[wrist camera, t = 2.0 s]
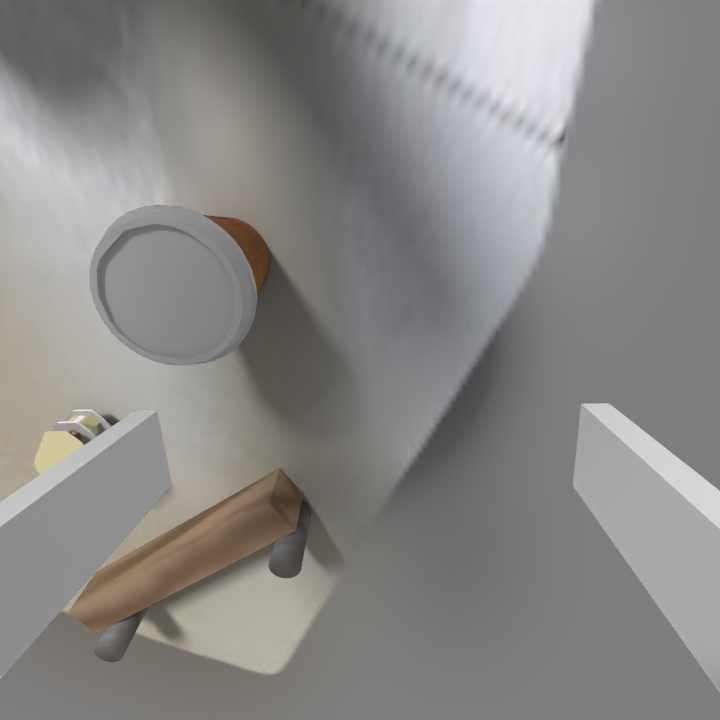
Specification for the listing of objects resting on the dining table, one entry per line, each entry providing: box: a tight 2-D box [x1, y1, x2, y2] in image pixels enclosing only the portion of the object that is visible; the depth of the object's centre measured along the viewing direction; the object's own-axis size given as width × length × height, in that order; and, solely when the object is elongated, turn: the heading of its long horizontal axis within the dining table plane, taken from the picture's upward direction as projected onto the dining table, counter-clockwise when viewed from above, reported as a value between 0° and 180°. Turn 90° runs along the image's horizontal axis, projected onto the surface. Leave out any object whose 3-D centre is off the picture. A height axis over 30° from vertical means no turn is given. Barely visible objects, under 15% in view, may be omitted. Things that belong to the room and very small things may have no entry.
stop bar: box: [68, 469, 311, 662], centre depth 45 cm, size 7×28×7 cm, turn 124°
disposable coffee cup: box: [90, 205, 269, 365], centre depth 29 cm, size 10×10×12 cm
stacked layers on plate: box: [34, 409, 112, 474], centre depth 40 cm, size 10×9×6 cm
